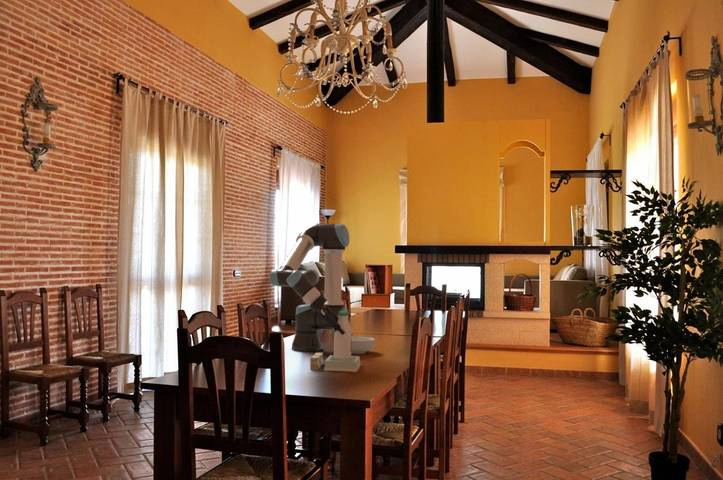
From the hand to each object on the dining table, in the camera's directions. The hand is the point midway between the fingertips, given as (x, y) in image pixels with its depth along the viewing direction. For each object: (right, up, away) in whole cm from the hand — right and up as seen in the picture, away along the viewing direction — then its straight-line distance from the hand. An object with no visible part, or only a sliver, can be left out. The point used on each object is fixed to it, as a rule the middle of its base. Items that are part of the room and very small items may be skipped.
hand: (350, 338), depth 261 cm
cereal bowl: (+3, -14, +40) cm, 42 cm away
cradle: (-4, -13, 0) cm, 14 cm away
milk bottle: (-4, -9, 0) cm, 9 cm away
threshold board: (-15, -13, +2) cm, 20 cm away
